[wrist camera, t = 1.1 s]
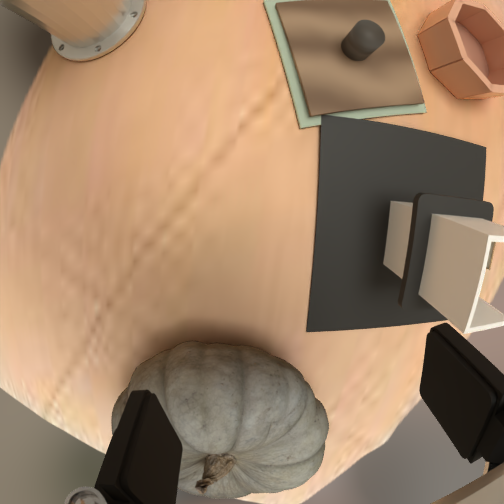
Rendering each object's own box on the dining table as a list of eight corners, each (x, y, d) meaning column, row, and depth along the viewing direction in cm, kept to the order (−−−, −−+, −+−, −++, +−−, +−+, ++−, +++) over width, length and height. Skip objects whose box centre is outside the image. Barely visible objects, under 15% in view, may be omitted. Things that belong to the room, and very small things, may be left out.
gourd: (189, 268, 31) (175, 413, 16) (346, 356, 40) (394, 460, 25) (103, 389, 38) (80, 491, 23) (239, 439, 47) (249, 526, 32)
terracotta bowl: (408, 11, 26) (435, -9, 19) (472, 22, 26) (500, 9, 19) (437, 99, 30) (471, 90, 23) (496, 99, 29) (529, 95, 23)
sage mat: (263, 2, 26) (263, 0, 25) (386, -1, 26) (388, -3, 25) (299, 128, 30) (300, 128, 30) (424, 113, 30) (426, 112, 30)
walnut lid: (275, 6, 26) (280, -19, 21) (384, 3, 25) (402, -16, 20) (309, 117, 29) (323, 106, 24) (421, 104, 29) (446, 95, 24)
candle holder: (458, 318, 38) (525, 378, 22) (306, 332, 37) (344, 432, 21) (486, 147, 31) (579, 157, 15) (321, 114, 29) (396, 80, 14)
